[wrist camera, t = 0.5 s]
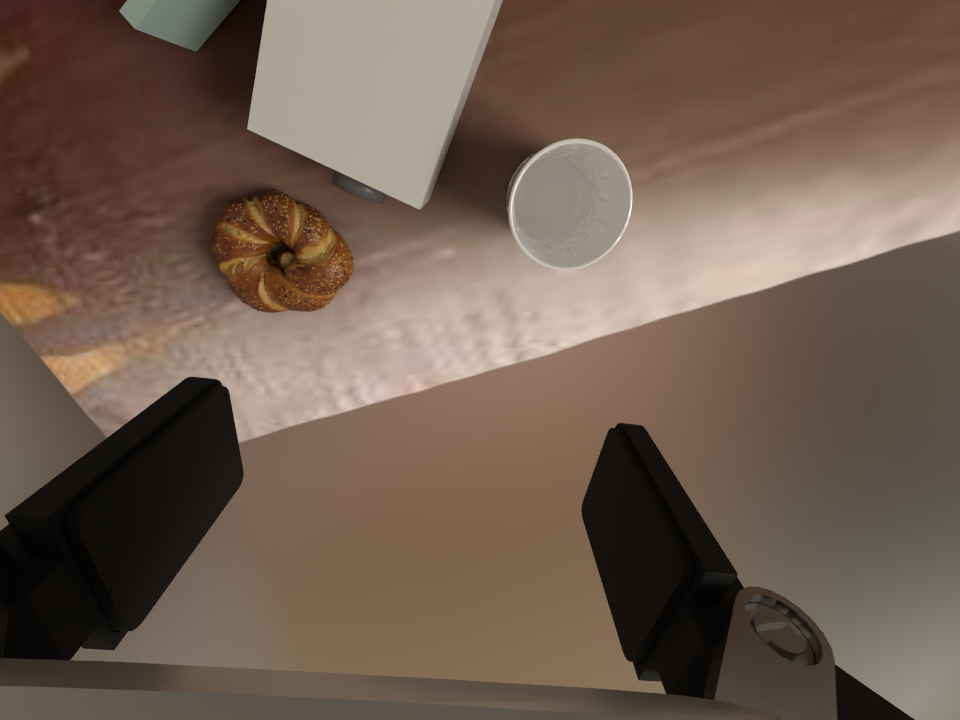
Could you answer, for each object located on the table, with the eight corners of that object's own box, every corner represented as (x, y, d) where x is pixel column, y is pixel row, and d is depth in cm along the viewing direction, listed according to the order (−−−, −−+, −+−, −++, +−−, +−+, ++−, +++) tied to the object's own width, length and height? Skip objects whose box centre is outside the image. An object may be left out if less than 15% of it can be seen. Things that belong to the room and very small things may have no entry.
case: (338, -110, 25) (297, -192, 19) (505, -8, 27) (513, -53, 22) (286, 149, 32) (244, 147, 26) (424, 214, 34) (413, 225, 28)
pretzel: (357, 202, 34) (346, 207, 31) (355, 317, 39) (344, 332, 36) (213, 178, 33) (185, 180, 30) (230, 299, 38) (207, 313, 35)
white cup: (566, 254, 36) (595, 286, 27) (486, 224, 35) (490, 246, 26) (607, 165, 33) (656, 168, 24) (521, 127, 31) (539, 116, 22)
